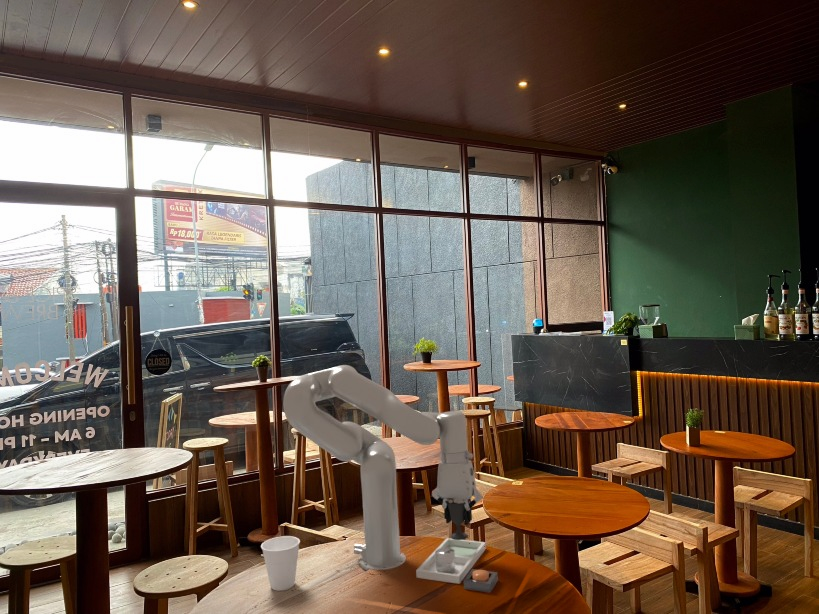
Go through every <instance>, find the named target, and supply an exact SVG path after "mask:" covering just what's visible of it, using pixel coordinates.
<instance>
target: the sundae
mask: <svg viewBox="0 0 819 614" xmlns="http://www.w3.org/2000/svg"><path fill="white" fill-rule="evenodd" d="M468 501H469V500H468ZM445 502H446V501H445ZM446 504H448V508H449V513H450V517H451V522H452V523H453V524H455V525H456V531H455V532H454V533H452V534H451V535H450V538H451V539H454V540H467V538H469V535H468V534H467V533H465V532H462V526H461V525H462V524H463V523H465V521H464V510H465V504H466V503H465V504H464V501H463V500H462V499H448V501H447V502H446Z"/></svg>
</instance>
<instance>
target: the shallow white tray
mask: <svg viewBox="0 0 819 614" xmlns="http://www.w3.org/2000/svg"><path fill="white" fill-rule="evenodd" d="M469 543H470V544H469ZM484 546H485V547H484ZM440 548H451V549H453V550H454V553H455V572H454V573H453V574H449V573H442V572H436V558H435V551H436V550H437V549H440ZM486 548H487V547H486V542H484V541H477V540H469V539H464V540H454V539H452V538H451V537H450V538H449V537H446V538H445V539H444V540H443V541H442V542H441V544H439V545H438V547H436V549H435V550H434V551H433V552H432V553H431V554H430V555H429V556H428V557H427V558H426V559H425V560H424V561H423V562H422V563H421V565H420V566H419V567H418V568H417V569H416V570H415V572H416V573H415V575H416V576H415V577H416V579H417V578H418V579H425V580H429V581H430V580H431V581H436V582H437V581H438V582H443V583H451V584H458V585H460V584H461V583H462V581H464V579H465V578H466V576H467V575H468V574H469V572H470V571H471V570H472V569H473V567H474V565H475V564H476V563H477V561H478V560H479V558H480V557H481V556H482V555H483V553H484V552H485V551H486Z"/></svg>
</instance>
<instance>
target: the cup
mask: <svg viewBox="0 0 819 614" xmlns="http://www.w3.org/2000/svg"><path fill="white" fill-rule="evenodd" d="M300 543H301V540H300V538H298V537H296V536H291V535H283V536H277V537H273V538H269V539H267V540H265V541H264V542H262V543H261V545H260V548H261V550H262V554H263V559H264V562H265V566H266V567H265V568H266V572H267V576H268V582H269V586H270V588H271V589H272V590H273V591H277V592H282V591H286V590H289V589H292V587H293V586H294V585H295V582H296V575H297V566H298V556H299V548H300Z"/></svg>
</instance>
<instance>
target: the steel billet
mask: <svg viewBox="0 0 819 614" xmlns="http://www.w3.org/2000/svg"><path fill="white" fill-rule="evenodd" d="M436 549H437V548H436ZM436 549H435V550H436ZM435 550H434V551H435ZM435 558H436V572H442V573H449V574H453V573H454V572H455V553H454V550H453V549H451V548H440V549H437V550H436V551H435Z"/></svg>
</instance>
